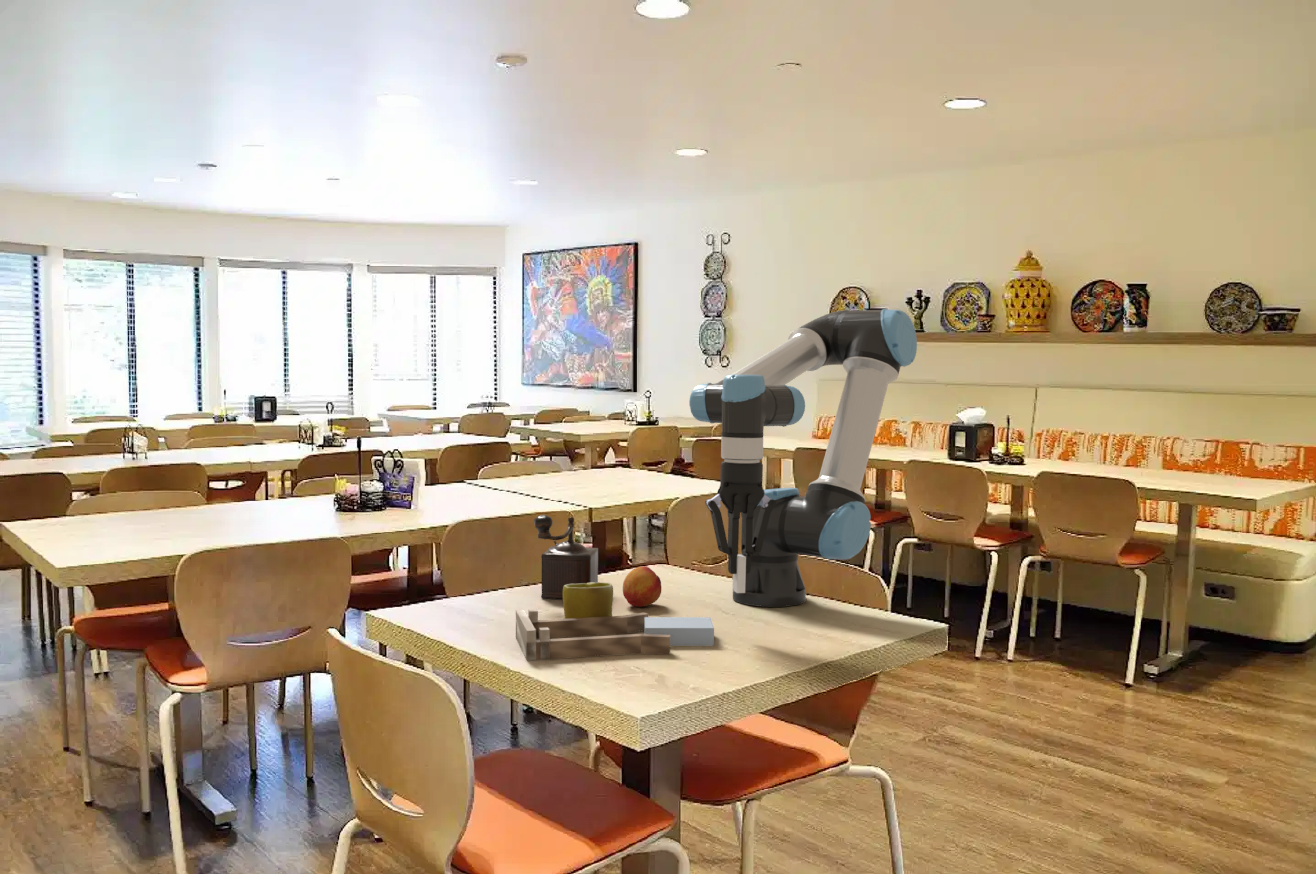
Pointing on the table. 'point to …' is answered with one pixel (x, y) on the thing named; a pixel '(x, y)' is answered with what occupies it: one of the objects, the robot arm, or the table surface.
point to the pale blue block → (682, 630)
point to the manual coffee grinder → (564, 560)
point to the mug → (587, 600)
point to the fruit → (641, 587)
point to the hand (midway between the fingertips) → (738, 591)
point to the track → (585, 646)
